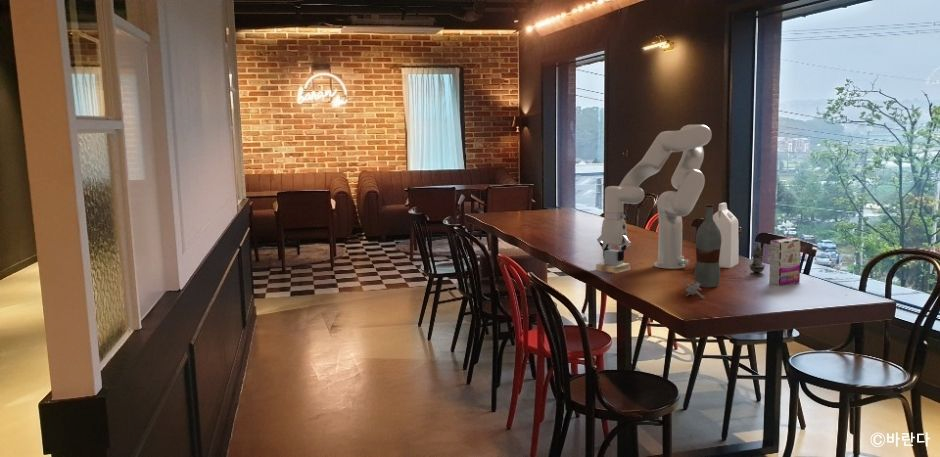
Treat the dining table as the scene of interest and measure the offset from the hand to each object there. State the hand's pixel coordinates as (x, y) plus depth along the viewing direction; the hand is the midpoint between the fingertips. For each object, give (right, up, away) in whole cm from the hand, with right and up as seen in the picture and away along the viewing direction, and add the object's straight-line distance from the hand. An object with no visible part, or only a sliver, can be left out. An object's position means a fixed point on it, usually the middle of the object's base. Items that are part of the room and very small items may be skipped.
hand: (613, 259), depth 296 cm
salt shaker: (+54, -6, -13) cm, 56 cm away
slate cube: (0, -2, 0) cm, 2 cm away
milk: (+47, -3, +9) cm, 48 cm away
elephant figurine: (+17, -11, -48) cm, 52 cm away
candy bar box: (+58, -8, -29) cm, 65 cm away
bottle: (+29, -8, -30) cm, 42 cm away
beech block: (0, -5, +1) cm, 5 cm away
